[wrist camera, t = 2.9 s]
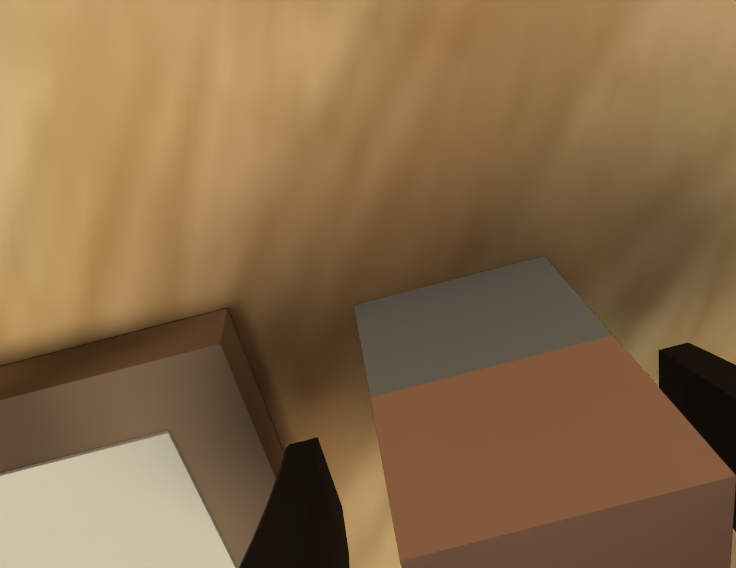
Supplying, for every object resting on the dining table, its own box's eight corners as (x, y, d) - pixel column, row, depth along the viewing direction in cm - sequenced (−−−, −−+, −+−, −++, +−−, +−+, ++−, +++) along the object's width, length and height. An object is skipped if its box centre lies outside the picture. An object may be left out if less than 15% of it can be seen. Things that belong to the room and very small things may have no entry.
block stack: (543, 255, 14) (736, 475, 8) (559, 406, 16) (723, 673, 10) (353, 304, 14) (399, 560, 8) (393, 448, 16) (455, 740, 10)
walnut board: (226, 308, 14) (219, 346, 13) (337, 589, 19) (341, 641, 17) (-201, 418, 14) (-257, 468, 13) (14, 671, 19) (-9, 729, 17)
